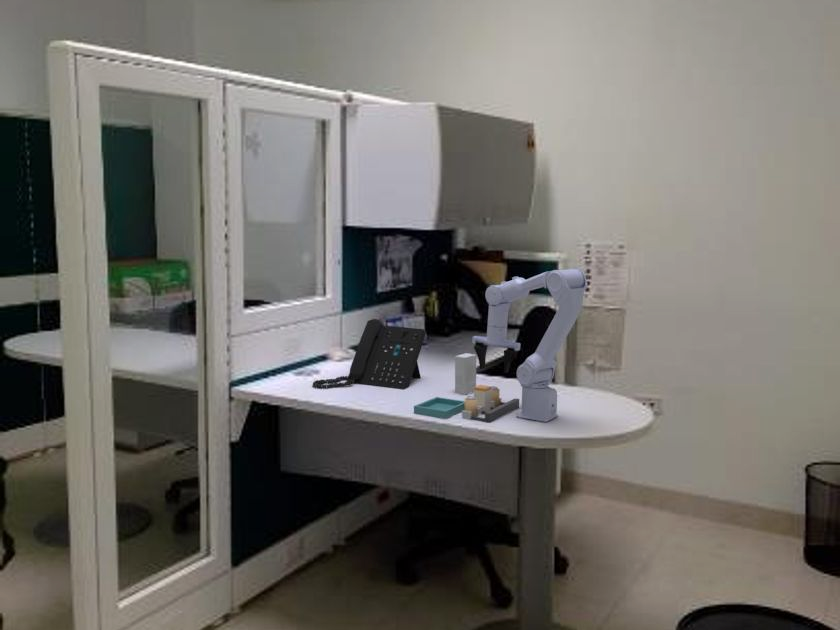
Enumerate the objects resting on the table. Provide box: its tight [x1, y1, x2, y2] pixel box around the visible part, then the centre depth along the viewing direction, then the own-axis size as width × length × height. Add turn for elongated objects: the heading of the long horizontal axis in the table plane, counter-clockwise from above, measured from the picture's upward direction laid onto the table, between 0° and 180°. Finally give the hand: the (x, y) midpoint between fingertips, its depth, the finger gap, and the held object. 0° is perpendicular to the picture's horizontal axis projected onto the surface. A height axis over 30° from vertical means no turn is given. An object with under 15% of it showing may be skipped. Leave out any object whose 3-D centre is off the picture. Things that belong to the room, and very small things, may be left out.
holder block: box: [461, 397, 520, 424], centre depth 228 cm, size 9×19×2 cm, turn 148°
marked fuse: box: [473, 384, 492, 412], centre depth 230 cm, size 4×4×7 cm
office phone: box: [312, 318, 426, 390], centre depth 263 cm, size 29×28×20 cm
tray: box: [413, 396, 465, 420], centre depth 230 cm, size 11×13×2 cm
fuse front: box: [464, 395, 478, 417], centre depth 224 cm, size 4×4×6 cm
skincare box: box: [454, 352, 477, 396], centre depth 251 cm, size 6×4×12 cm
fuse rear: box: [491, 386, 501, 407], centre depth 235 cm, size 4×4×6 cm
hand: (494, 370), depth 235 cm, fingers open, 7 cm apart
